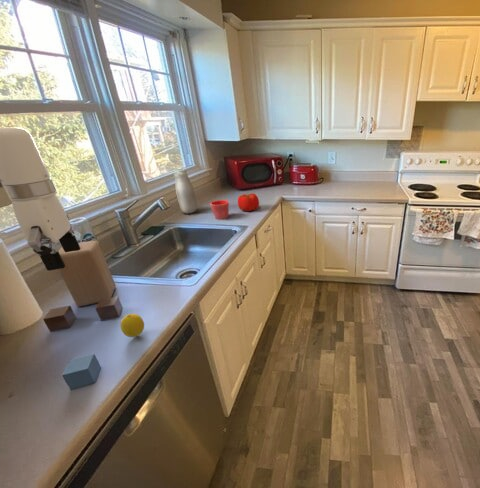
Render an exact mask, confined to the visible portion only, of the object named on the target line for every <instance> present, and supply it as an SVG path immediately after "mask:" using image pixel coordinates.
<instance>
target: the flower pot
mask: <svg viewBox="0 0 480 488" xmlns="http://www.w3.org/2000/svg"><path fill="white" fill-rule="evenodd" d="M209 206H210V208H211V209H212V213H213V216H214V218H215V219H216V220H225V219H227V218H229V214H230V213H229V211H230V210H229V209H230V202H229V201H228V200H226V199H218V200H213V201H211V202H210V205H209Z"/></svg>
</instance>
